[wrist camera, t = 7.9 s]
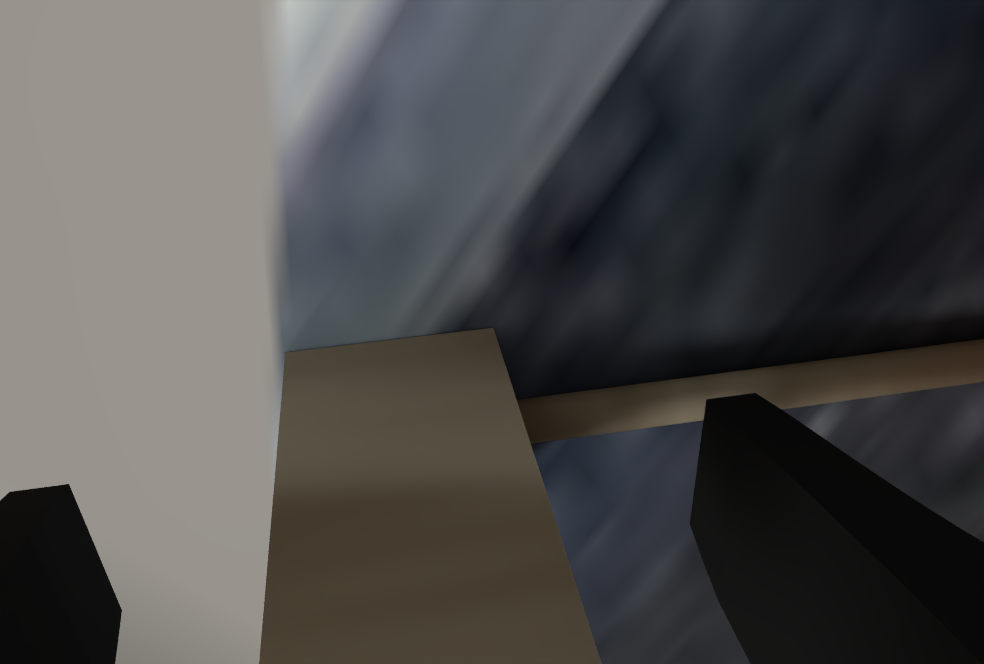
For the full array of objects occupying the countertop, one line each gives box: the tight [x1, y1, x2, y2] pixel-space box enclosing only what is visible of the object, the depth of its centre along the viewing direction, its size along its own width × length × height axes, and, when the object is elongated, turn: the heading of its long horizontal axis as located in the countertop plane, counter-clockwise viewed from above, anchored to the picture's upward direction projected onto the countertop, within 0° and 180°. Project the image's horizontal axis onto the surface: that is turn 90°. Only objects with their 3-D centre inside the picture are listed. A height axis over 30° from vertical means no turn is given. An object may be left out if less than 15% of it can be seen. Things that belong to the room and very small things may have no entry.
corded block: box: [259, 328, 984, 664], centre depth 9 cm, size 4×15×6 cm, turn 92°
